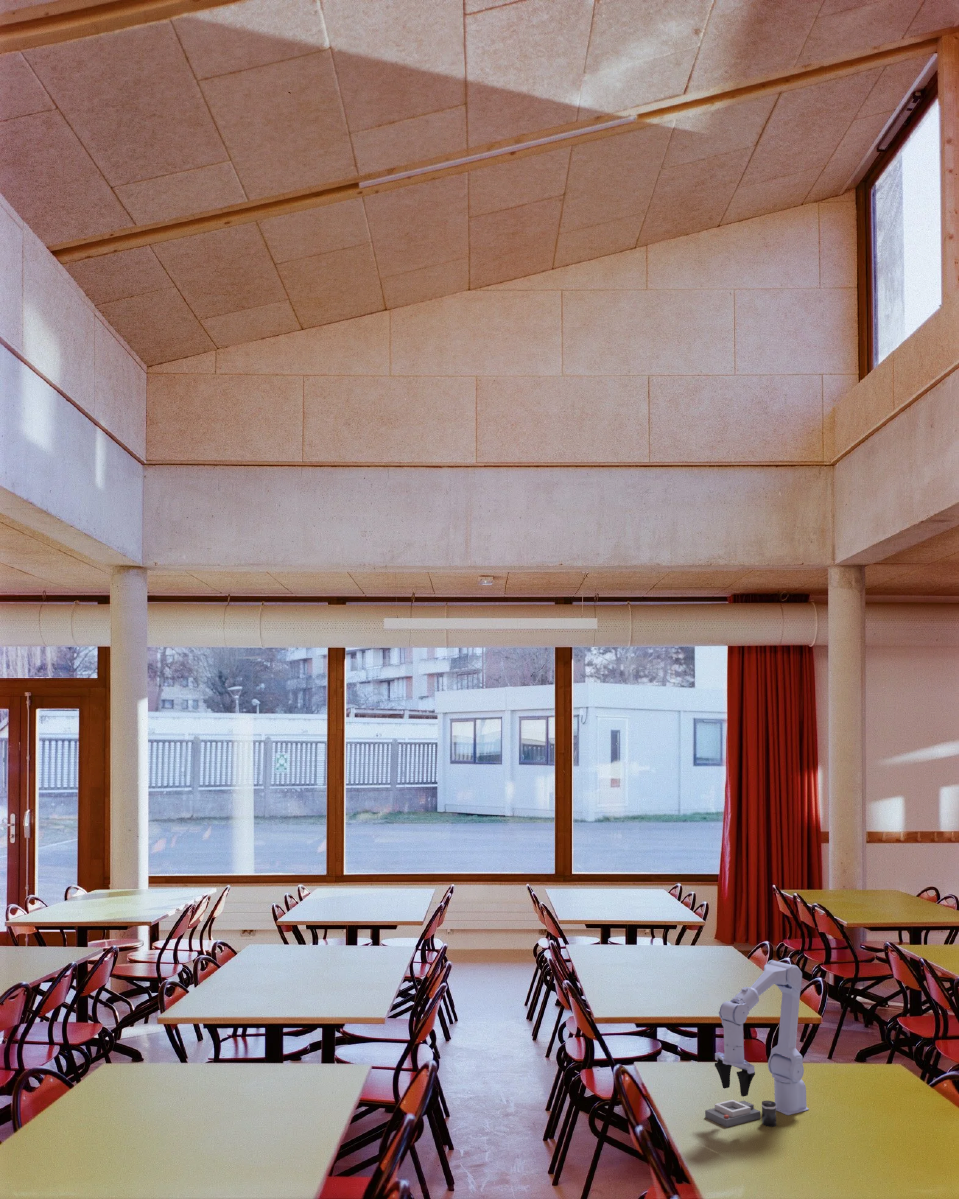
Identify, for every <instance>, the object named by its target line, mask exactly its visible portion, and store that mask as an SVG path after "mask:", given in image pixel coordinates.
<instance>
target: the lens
mask: <svg viewBox="0 0 959 1199" xmlns="http://www.w3.org/2000/svg"><path fill="white" fill-rule="evenodd" d="M761 1115H762V1116H761V1120H762V1121H761V1122H762V1125H763V1126H765V1127H768V1128H769V1127H771V1128H773V1127H776V1126H777V1111H776V1103H775V1101H772V1100H762V1101H761Z"/></svg>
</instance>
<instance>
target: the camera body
mask: <svg viewBox="0 0 959 1199" xmlns="http://www.w3.org/2000/svg"><path fill="white" fill-rule="evenodd" d="M704 1113H705V1114H704V1117H705V1118H706V1119H708V1120H711V1121H712V1122H715V1123H716V1124H719V1125H720V1126H723V1127H724V1128H729V1127H733V1126H737V1125H740V1124H745V1123H748V1122H753V1121H755V1120H759V1119H760V1120H761V1119H762V1116H761V1111H760V1110H758V1109H755V1105H754V1104H752V1103H751V1102H748V1101H746V1100H741V1101H737V1100H735V1099H729V1100H725V1101H722V1102H721V1101H720V1102H718V1103H714V1107H713V1108H710V1109H709V1108H708V1109H706V1110H705V1111H704Z"/></svg>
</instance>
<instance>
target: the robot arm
mask: <svg viewBox="0 0 959 1199" xmlns="http://www.w3.org/2000/svg"><path fill="white" fill-rule="evenodd" d="M802 979H803V972H802V971H801V969H800V967H798V966H797V965H796V964H790V963H786V962H781V961H778V960H774V959H771V960H770V959H769V961H768V962H767V963H766V964H764V965H763V972H762V974H760V975H759V977H758V978H757V979H756V980H755V981H754V982H753V984H752V985H751V986H750V987H749V986H744V987H742V988H741V990H740V991H739V992H738V993H737V994H736V995H735V996H733V998H731V1000H726V1001H724V1002H722V1004H721V1005H720V1007H719V1011H718V1015H719V1018H720V1020H721V1025H722V1027H723V1049H724V1050H723V1051H724V1052H719V1051H718V1052H715V1053H714V1059H715V1061H717V1062H715V1063H714V1067H715V1069H716V1071H717V1072H718V1075H719V1079H720V1081H721V1085H722V1088H723V1089H728V1088H730V1085H731V1071H732V1070H731V1069H732V1067H735V1068H737V1069H740V1071H736V1075H737V1078H738V1082H739V1091H740V1092H739V1093H740V1096H741V1097H747V1096H748V1095H749V1091H750V1086H751V1083H752V1081H753V1079H754V1077H755V1075H756V1072H755V1071H756V1070H755V1065H753V1064H751V1063H750V1062H749V1061H747V1060H746V1059H745V1048H744V1047H745V1045H744V1044H745V1043H744V1024H745V1023H746V1021H747V1019H748V1016H749V1014H750V1011H751V1010H753V1009H754V1007H755V1006H756V1005H757V1004H758V1003H759V1002H760V996H761V995H763V994H764V993H765V992H766V991H768V989H770V988H771V987H772V986H774V985H775V986H776V987H777V988H778V989H779V991H781V1004H780V1015H779V1029H778V1041H777V1045H775V1046H774V1047H772V1048H771V1050H770V1055H769V1058H768V1060H767V1068H768V1072H769V1073H770V1074H771V1077H772V1078H773V1081H774V1082H773V1087H774V1088H773V1089H774V1102H775V1103H776V1112H779V1113H782V1114H783V1115H786V1116H791V1115H794V1114H795V1115H796V1114H798V1113H803V1112H805V1111H806V1112H807V1111H809V1109H810V1108H809V1107H807V1105H808V1104H807V1088H806V1084H805V1082H804V1081H803V1079H802V1078H803V1077H804V1073H805V1070H804V1069H805V1068H804V1065H803V1064H804V1063H803V1059H804V1058H803V1055H802V1054H801V1053H800V1051H799V1050H798V1049H797V1047H796V1046H797V1037H798V1036H797V1035H798V1025H799V1024H798V1023H799V1012H800V998H801V991H802V981H803V980H802Z"/></svg>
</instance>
